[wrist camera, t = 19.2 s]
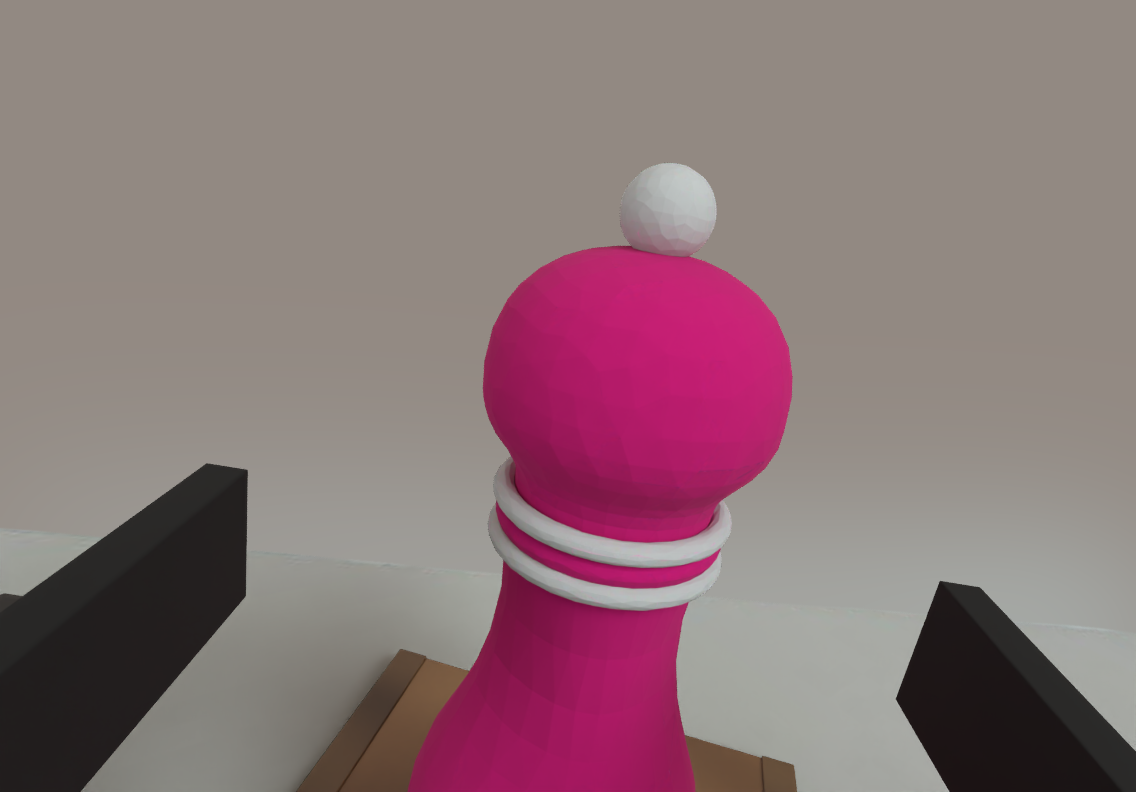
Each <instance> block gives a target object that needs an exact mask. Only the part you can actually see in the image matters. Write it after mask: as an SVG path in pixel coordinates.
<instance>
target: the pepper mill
mask: <svg viewBox="0 0 1136 792" xmlns="http://www.w3.org/2000/svg"><path fill="white" fill-rule="evenodd" d="M715 221H716V202H715V198H714V194H713V191H712V189H711V187H710V185H709V184H708V182H707V181H706V180H705V179H704V178H703V177H702V176H701V175H700V174H698V173H697V172H696V171H694V170H693V169H691V168H689V167H688V166H685V165H681V164H678V163H677V164H676V163H663V164H659V165H654V166H652V167H650V168H648V169H646V170H644V171H642V172H641V173H640V174H639V175H638V176H637V177H636V178H635V179H634V180H633V181H632V182H631V183H630V184H629V186H627V188H626V191H625V193H624V195H623V197H622V201H621V207H620V225H621V228H622V230H623V233H624V236H625V238H626V239H627V241H628V242H629V244H630V245H631V246H611V247H599V248H591V249H587V250H582V251H578V252H575V253H571V254H568V255H564V256H562V257H560V258H558V259H556V260H555V261H552V262H550V263H549V264H547V265H545V266H543V267H541V268H539V269H538V270H537V271H536V272H535V273H533V274H532V275H531V276H530V277H528V278H527V279H526V280H525V281H523V282H522V283H521V284H520V285H519V286H518V287H517V288H516V290H515V291H514V292H513V293H512V295H511V296H510V297H509V298H508V300H507V302H506V304H505V306H504V307H503V310H502V311H501V313H500V315H499V317H498V319H497V321H496V322H495V325H494V326H493V329H492V333H491V337H490V341H489V345H488V349H487V353H486V357H485V362H484V378H483V395H484V402H485V407H486V410H487V414H488V417H489V420H490V422H491V424H492V426H493V428H494V430H495V433H496V434H497V435H498V437H499V438H500V440H501V441H502V442H503V444H504V445H505V446H506V447H507V449H508V451H509V453H510V455H511V457H509V458H508V459H507V460H506V461H505V462H504V463H503V464H502V465H501V466H500V467H499V469H498V471H497V473H496V475H495V477H494V484H493V485H494V494H495V497H496V503H495V505H494V506H493V508H492V510H491V511H490V516H489V521H488V530H489V536H490V538H491V541H492V543H493V545H494V548H495V549H496V551H497V553H498V554H499V555H500V556H501V557H502V558H503V574H502V587H501V591H500V594H499V598H498V602H497V606H496V610H495V614H494V618H493V621H492V625H491V629H490V631H489V634H488V636H487V638H486V640H485V643H484V645H483V647H482V649H481V652H480V654H479V656H478V658H477V660H476V662H475V663H474V665H473V667H472V668H471V670H470V671H469V673H468V674H467V676H466V677H465V678H464V680H463V681H462V682H461V684H460V685H459V686H458V688H457V689H456V690H455V692H454V693H453V694H452V696H451V697H450V698H449V700H448V701H447V702H446V704H445V705H444V707H443V708H442V709H441V711H440V712H439V713H438V715H437V716H436V718H435V720H434V722H433V724H432V726H431V728H430V730H429V732H428V734H427V736H426V738H425V741H424V743H423V745H422V747H421V749H420V751H419V753H418V756H417V758H416V760H415V763H414V767H413V771H412V775H411V779H410V783H409V787H408V792H695V780H694V774H693V769H692V765H691V761H690V756H689V752H688V748H687V744H686V739H685V735H684V731H683V726H682V722H681V716H680V710H679V705H678V699H677V678H676V657H677V651H678V645H679V639H680V632H681V626H682V620H683V617H684V614H685V611H686V608H687V606H688V603H689V602H690V601H692V600H695V599H696V598H698V597H699V596H701V595H702V594H704V593H705V592H706V591H708V589H710V588H711V587H712V585H713V584H714V583H715V582H716V580H717V578H718V576H719V574H720V570H721V567H722V563H721V562H722V561H721V552H720V549H721V548H722V546H723V545H724V543H725V542H726V540H727V539H728V537H729V536H730V532H731V525H732V521H731V515H730V511H729V509H728V508H727V506H726V504H725V502H724V501H723V499H724V498H726V497H727V496H729V495H730V494H732V493H733V492H735V491H736V490H738V489H739V488H741V487H743V486H744V485H746V484H747V483H749V482H750V481H752V480H753V479H754V478H755V477H756V476H757V475H758V474H759V473H760V472H761V471H763V470H764V469H765V468H766V466H767V465H768V463H769V462H770V461H771V459H772V457H773V456H774V455H775V453H776V452H777V450H778V448H779V445H780V442H781V439H782V436H783V433H784V429H785V425H786V421H787V416H788V412H789V407H790V402H791V398H792V370H791V362H790V355H789V347H788V345H787V343H786V341H785V338H784V336H783V333H782V331H781V329H780V326H779V324H778V322H777V319H776V317H775V316H774V315H773V313H772V312H771V311H770V310H769V309H768V307H767V306H766V305H765V304H764V302H763V301H762V300H761V298H760V297H759V296H758V295H757V294H756V293H755V292H753V291H752V290H751V289H750V288H749V287H747V286H746V285H744V284H743V283H742V282H741V281H739V280H738V279H736V278H735V277H733V276H732V275H731V274H729V273H728V272H726V271H724V270H722V269H720V268H718V267H716V266H713V265H711V264H709V263H707V262H705V261H702V260H698V259H695V258H692V257H689V256H690V255H692V254H693V253H695V252H697V251H698V250H699V249H700V248H701V247H702V246H703V245H704V244H705V242H706V241H707V240H708V238H709V236H710V234H711V232H712V230H713V228H714V225H715Z"/></svg>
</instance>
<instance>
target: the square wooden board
mask: <svg viewBox="0 0 1136 792" xmlns="http://www.w3.org/2000/svg"><path fill="white" fill-rule="evenodd" d="M468 673H469V671H467V670H464V669H460V668H457V667H454V666H450V665H447V664H443V663H440V662H437V661H433V660H430V659H427V658H426V656H423V655H420V654H416V653H413V652H410V651H406V650H403V649H400V650H399V652H398V653H397V654H396V656H395V657H394V659H393V660H392V661H391V663H390V664H389V665H388V667H387V668H386V669H385V671H384V672H383V674H382V675H381V676H380V678H379V679H378V680H377V682H376V683H375V684H374V686H373V687H372V689H371V690H370V691H369V693H368V694H367V695H366V697H365V698H364V699H363V701H362V702H361V704H360V705H359V706H358V708H357V709H356V710H355V712H354V713H353V715H352V716H351V717H350V719H349V720H348V721H347V723H346V724H345V725H344V727H343V728H342V730H341V731H340V732H339V734H338V735H337V736H336V738H335V739H334V740H333V742H332V743H331V745H330V746H329V747H328V749H327V750H326V751H325V753H324V754H323V755H322V757H321V758H320V760H319V761H318V762H317V764H316V765H315V766H314V768H313V769H312V770H311V772H310V773H309V775H308V776H307V777H306V779H305V780H304V781H303V783H302V784H301V786H300V787H299V788H298V790H297V791H296V792H408V787H409V783H410V779H411V775H412V771H413V767H414V763H415V760H416V758H417V756H418V753H419V751H420V749H421V747H422V745H423V743H424V741H425V738H426V736H427V734H428V732H429V730H430V728H431V726H432V724H433V722H434V720H435V718H436V716H437V715H438V713H439V712H440V711H441V709H442V708H443V707H444V705H445V704H446V702H447V701H448V700H449V698H450V697H451V696H452V694H453V693H454V692H455V690H456V689H457V688H458V686H459V685H460V684H461V682H462V681H463V680H464V678H465V677H466V676H467V674H468ZM685 739H686V744H687V748H688V752H689V756H690V761H691V765H692V769H693V774H694V780H695V792H797V787H796V779H795V770H794V765H792V764H789V763H785V762H782V761H778V760H775V759H772V758H768V757H765V756H762V758H760V757H757V756H753V755H750V754H747V753H743V752H740V751H736V750H733V749H730V748H726V747H723V746H720V745H716V744H713V743H709V742H706V741H703V740H699V739H696V738H693V737H689V736H686V735H685Z"/></svg>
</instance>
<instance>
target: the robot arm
mask: <svg viewBox="0 0 1136 792" xmlns="http://www.w3.org/2000/svg"><path fill="white" fill-rule="evenodd" d="M247 478H248V471H247V470H244V469H239V468H232V467H226V466H220V465H213V464H205V465H204V466H203V467H201V468H200V469H198V470H197V471H196V472H194V473H193V474H191V475H190V476H189V477H187V478H186V479H184V480H183V481H182V482H181V483H179V484H178V485H176V486H175V487H173V488H172V489H171V490H169V491H168V492H166V493H165V494H164V495H162V496H161V497H160V498H158V499H157V500H155V501H154V502H153V503H151V504H150V505H148V506H147V507H146V508H144V509H143V510H142V511H140V512H139V513H137V514H136V515H135V516H133V517H132V518H130V519H129V520H128V521H126V522H125V523H124V524H122V525H121V526H119V527H118V528H117V529H115V530H114V531H113V532H111V533H110V534H108V535H107V536H106V537H104V538H103V539H101V540H100V541H99V542H97V543H96V544H94V545H93V546H92V547H90V548H89V549H88V550H86V551H85V552H83V553H82V554H81V555H79V556H78V557H76V558H75V559H74V560H72V561H71V562H70V563H68V564H67V565H65V566H64V567H63V568H61V569H60V570H58V571H57V572H56V573H54V574H53V575H52V576H50V577H49V578H47V579H46V580H45V581H43V582H42V583H40V584H39V585H38V586H36V587H35V588H34V589H32V590H31V591H29V592H28V593H27V594H25V595H24V596H17V595H11V594H1V595H0V792H81V790H82V789H83V788H84V787H85V786H86V784H87V783H88V782H89V781H90V780H91V779H92V777H93V776H94V775H95V774H96V773H97V771H98V770H99V769H100V768H101V767H102V766H103V764H104V763H105V762H106V761H107V760H108V758H109V757H110V756H111V755H112V754H113V753H114V751H115V750H116V749H117V748H118V747H119V745H120V744H121V743H122V742H123V741H124V740H125V738H126V737H127V736H128V735H129V734H130V732H131V731H132V730H133V729H134V728H135V727H136V725H137V724H138V723H139V722H140V721H141V719H142V718H143V717H144V716H145V715H146V713H147V712H148V711H149V710H150V709H151V708H152V706H153V705H154V704H155V703H156V702H157V700H158V699H159V698H160V697H161V696H162V695H163V693H164V692H165V691H166V690H167V689H168V687H169V686H170V685H171V684H172V683H173V682H174V680H175V679H176V678H177V677H178V676H179V674H180V673H181V672H182V671H183V670H184V669H185V667H186V666H187V665H188V664H189V663H190V661H191V660H192V659H193V658H194V657H195V656H196V654H197V653H198V652H199V651H200V650H201V648H202V647H203V646H204V645H205V644H206V643H207V641H208V640H209V639H210V638H211V637H212V635H213V634H214V633H215V632H216V631H217V630H218V628H219V627H220V626H221V625H222V624H223V622H224V621H225V620H226V619H227V618H228V617H229V615H230V614H231V613H232V612H233V611H234V609H235V608H236V607H237V606H238V605H239V604H240V602H241V601H242V600H243V599H244V598H245V596H246V545H247ZM896 700H897V702H898V704H899V706H900V707H901V709H902V711H903V713H904V714H905V716H906V718H907V719H908V721H909V723H910V725H911V726H912V728H913V730H914V731H915V733H916V735H917V737H918V738H919V740H920V742H921V743H922V745H923V747H924V749H925V750H926V752H927V754H928V756H929V757H930V759H931V761H932V762H933V764H934V766H935V768H936V769H937V771H938V773H939V774H940V776H941V778H942V780H943V781H944V783H945V785H946V786H947V788H948V790H949V792H1136V751H1135V750H1134V749H1133V748H1132V747H1131V746H1130V745H1129V744H1128V743H1127V742H1126V741H1125V740H1124V739H1123V738H1122V736H1121V735H1120V734H1119V733H1118V732H1117V731H1116V730H1115V729H1114V728H1113V727H1112V726H1111V725H1110V724H1109V723H1108V722H1107V721H1106V720H1105V719H1104V718H1103V716H1102V715H1101V714H1100V713H1099V712H1098V711H1097V710H1096V709H1095V708H1094V707H1093V706H1092V705H1091V704H1090V703H1089V702H1088V701H1087V700H1086V699H1085V698H1084V696H1083V695H1082V694H1081V693H1080V692H1079V691H1078V690H1077V689H1076V688H1075V687H1074V686H1073V685H1072V684H1071V683H1070V682H1069V681H1068V680H1067V679H1066V678H1065V676H1064V675H1063V674H1062V673H1061V672H1060V671H1059V670H1058V669H1057V668H1056V667H1055V666H1054V665H1053V664H1052V663H1051V662H1050V661H1049V660H1048V659H1047V658H1046V656H1045V655H1044V654H1043V653H1042V652H1041V651H1040V650H1039V649H1038V648H1037V647H1036V646H1035V645H1034V644H1033V643H1032V642H1031V641H1030V640H1029V639H1028V638H1027V636H1026V635H1025V634H1024V633H1023V632H1022V631H1021V630H1020V629H1019V628H1018V627H1017V626H1016V625H1015V624H1014V623H1013V622H1012V621H1011V620H1010V619H1009V618H1008V616H1007V615H1006V614H1005V613H1004V612H1003V611H1002V610H1001V609H1000V608H999V607H998V606H997V605H996V604H995V603H994V602H993V601H992V600H991V599H990V598H989V596H988V595H987V594H986V593H985V592H984V591H983V590H982V589H981V588H980V587H974V586H968V585H962V584H956V583H949V582H943V581H940V582H939V585H938V588H937V590H936V593H935V596H934V598H933V601H932V604H931V607H930V609H929V612H928V614H927V617H926V620H925V622H924V625H923V628H922V630H921V633H920V636H919V638H918V641H917V644H916V646H915V649H914V652H913V654H912V657H911V660H910V662H909V665H908V668H907V670H906V673H905V676H904V678H903V681H902V684H901V686H900V689H899V692H898V694H897V697H896Z"/></svg>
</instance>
